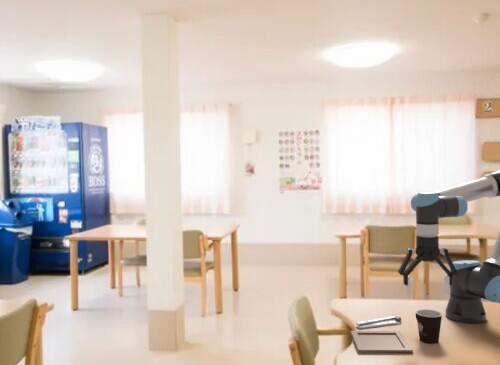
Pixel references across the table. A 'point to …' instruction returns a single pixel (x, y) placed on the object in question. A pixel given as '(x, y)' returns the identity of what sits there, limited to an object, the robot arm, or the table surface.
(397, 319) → the tongs
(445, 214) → the robot arm
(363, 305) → the table surface
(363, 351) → the tray
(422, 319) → the coffee mug
